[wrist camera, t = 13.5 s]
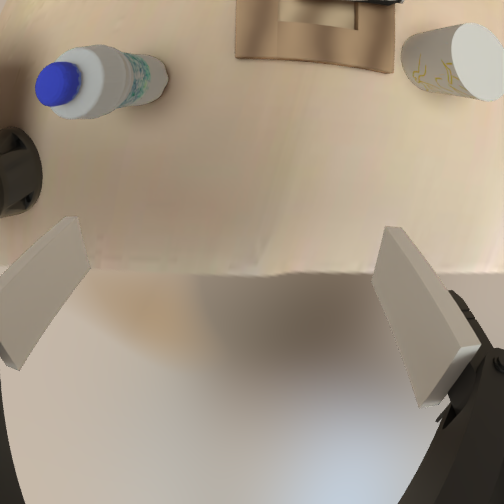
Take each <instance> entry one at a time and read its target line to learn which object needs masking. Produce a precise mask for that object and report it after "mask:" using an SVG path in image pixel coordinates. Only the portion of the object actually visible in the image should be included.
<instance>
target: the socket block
mask: <svg viewBox="0 0 504 504" xmlns="http://www.w3.org/2000/svg"><path fill="white" fill-rule="evenodd" d="M394 52H395V4H393V5H390V6H385V5H379V4H372V3H364V2H355V1H345V0H236V38H235V57H236V58H237V59H278V60H294V61H306V62H317V63H325V64H333V65H341V66H348V67H354V68H360V69H366V70H371V71H376V72H381V73H386V74H387V73H394Z"/></svg>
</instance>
